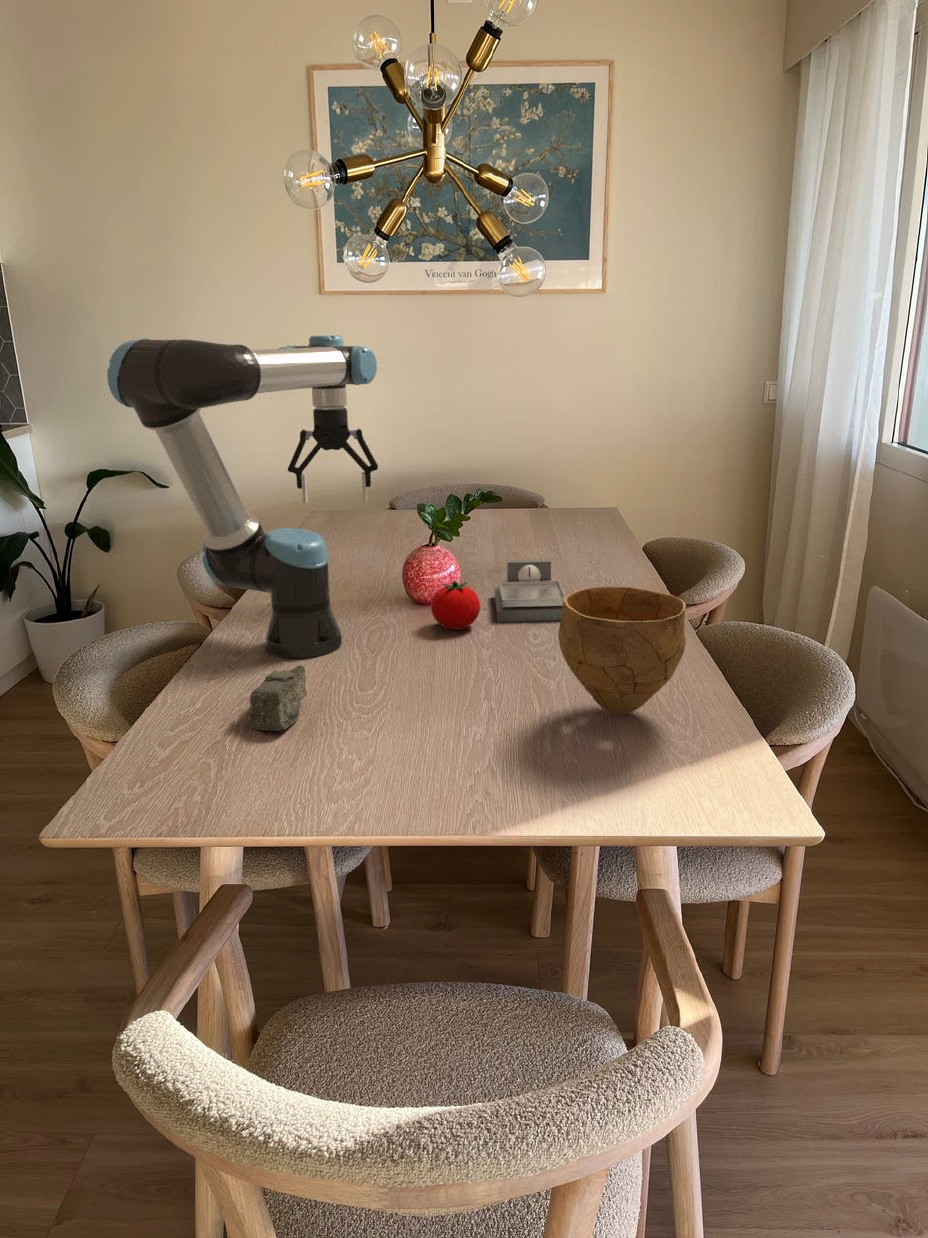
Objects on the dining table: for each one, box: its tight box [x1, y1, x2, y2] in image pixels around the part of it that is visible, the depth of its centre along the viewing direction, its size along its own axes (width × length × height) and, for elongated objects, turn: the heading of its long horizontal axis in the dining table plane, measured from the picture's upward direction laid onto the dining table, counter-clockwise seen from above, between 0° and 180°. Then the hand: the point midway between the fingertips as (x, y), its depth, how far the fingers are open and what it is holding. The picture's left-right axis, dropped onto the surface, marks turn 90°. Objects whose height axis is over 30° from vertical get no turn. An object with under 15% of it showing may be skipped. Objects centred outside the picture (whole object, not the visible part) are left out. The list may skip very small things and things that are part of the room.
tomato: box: [430, 579, 481, 630], centre depth 198 cm, size 10×10×10 cm
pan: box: [498, 579, 567, 607], centre depth 208 cm, size 14×14×2 cm
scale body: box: [493, 558, 567, 623], centre depth 209 cm, size 18×16×9 cm
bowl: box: [558, 586, 687, 717], centre depth 153 cm, size 21×20×20 cm
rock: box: [247, 664, 308, 732], centre depth 157 cm, size 17×7×10 cm
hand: (335, 502), depth 215 cm, fingers open, 13 cm apart
